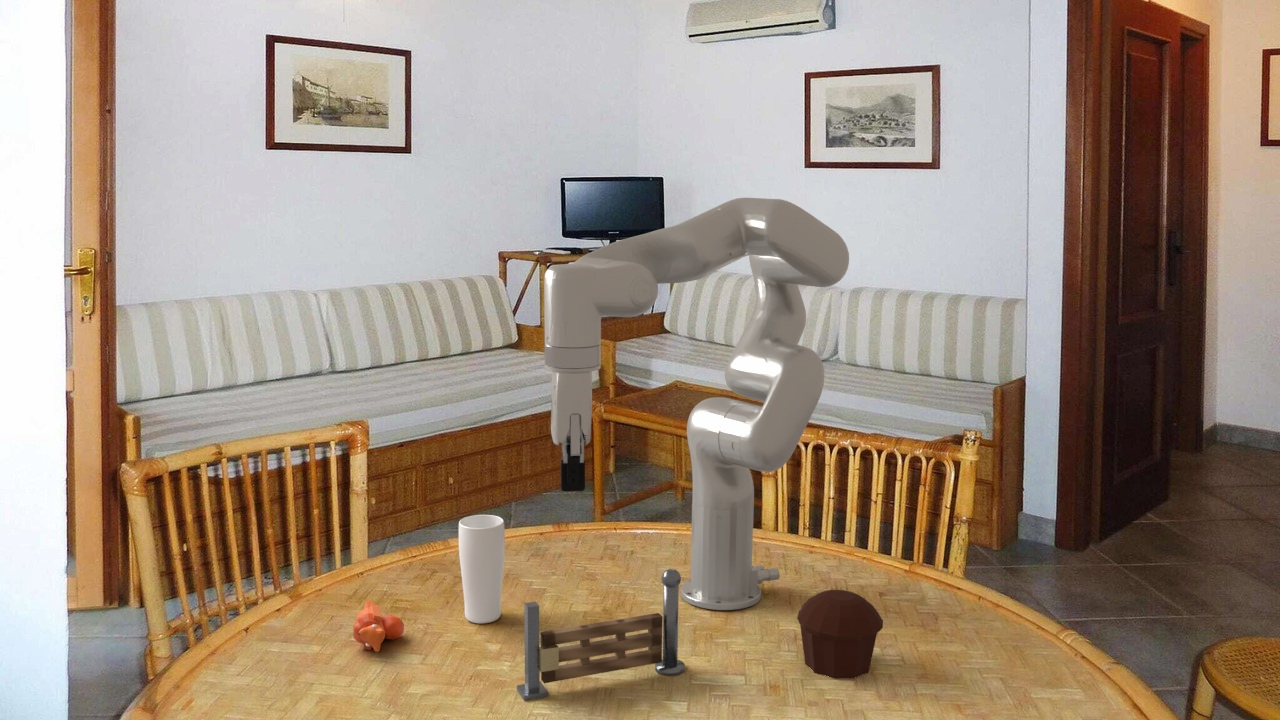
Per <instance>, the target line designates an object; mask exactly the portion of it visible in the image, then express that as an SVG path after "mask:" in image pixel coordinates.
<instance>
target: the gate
mask: <svg viewBox="0 0 1280 720" xmlns="http://www.w3.org/2000/svg"><path fill="white" fill-rule="evenodd" d="M645 630H646V631H648V632H643V633H636V634H635V633H634V634H630V635H626V634H629V633H632V632H639V631H645ZM609 636H615V637H612V638H607V639H602V640H594V641H591V639H598V638H604V637H609ZM574 642H579V643H577V644H571V645H563V646H558V645H562V644H568V643H574ZM551 645H557V646H558V647H559V663H562V662H563V663H564V662H569V661H575V660H579V661H578V662H572V663H566V664H559V669H557V670H551V671H545V672H540V680H541V682H543V684H549V683H555V682H560V681H564V680H565V681H566V680H571V679H577V678H581V677H587V676H588V677H589V676H593V675H598V674H599V675H600V674H604V673H610V672H615V671H621V670H627V669H631V668H637V667H643V666H647V665H655V663H661V662H662V659H663V614H662V615H661V614H660V613H659V612H656V613H651V614H643V615H638V616H632V617H625V618H619V619H618V618H617V619H612V620H606V621H600V622H595V623H594V622H593V623H589V624H587V623H586V624H581V625H576V626H569V627H563V628H558V629H551V630H545V631H541V632H540V647H545V646H551ZM644 648H647V649H646V650H641V651H635V652H629V653H626V652H627V651H633V650H639V649H644ZM610 654H614V655H612V656H606V657H600V658H595V659H591V658H592V657H598V656H603V655H610Z"/></svg>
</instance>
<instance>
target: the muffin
mask: <svg viewBox="0 0 1280 720" xmlns="http://www.w3.org/2000/svg"><path fill="white" fill-rule="evenodd" d="M796 618H797V620H798V623H799V626H800V633H801V641H802V643H801V644H802V649H803V656H804V657H803V658H804V664H806V665H807V666H806V665H805V666H806V667H808V668H809V667H810V668H811V669H812V670H813V671H812V670H811V669H810V668H809V669H810V670H811V671H812V672H813V673H814V674H816V673H817V675H820V674H822V676H824V675H826V676H825V677H827V676H829V677H828V678H830V677H831V679H833V678H835V679H853V678H854V679H856V678H858V676H859V677H861V676H863V675H862V674H864V675H866V674H865V673H867V674H869V673H868V672H869V671H870V667H871V663H872V659H873V655H874V649H875V645H876V639H877V636H878V635H877V634H878V633H879V632H880V631H881V630H882V629H883V628H884V620H883V619H882V617H881V615H880V613H879V612H878V611H877V609H876V608H875V606H874V605H873V604H871V603H870V602H869V601H868V600H867V599H866V598H864V597H862V596H861V595H859V594H857V593H855V592H852V591H848V590H844V589H828V590H823V591H822V592H819V593H816V594H815V595H813V596H811V597H810V598H808V599H806V601H805V602H804V603H803V605H802V606H801V608H800V609H799V610H798V614H797V617H796ZM860 675H861V676H860ZM855 677H856V678H855Z"/></svg>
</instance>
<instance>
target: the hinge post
mask: <svg viewBox="0 0 1280 720" xmlns="http://www.w3.org/2000/svg"><path fill="white" fill-rule="evenodd" d="M681 582H682V577H681V573H680V572H679V570H676V569H675V568H668V569H666V570H664V571H663V572H662V575H661V583H662V585H663V599H662V600H663V601H662V602H663V605H662V606H663V609H662V611H663V612H662V613H663V614H662V662H661V663H655V664H654V670H655V672H656V673H658V674H659V675H662V676H667V677H668V676H670V677H672V676H673V677H675V676H678V675H681V674H684V672H685V670H686V666H685V665H686V664H685V663H684V662H683V661H682V660H680V659H678V651H679V649H678V648H679V647H678V646H679V645H678V644H679V642H678V641H679V599H680V598H679V591H680V590H679V587H680V584H681Z"/></svg>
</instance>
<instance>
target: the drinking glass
mask: <svg viewBox="0 0 1280 720" xmlns="http://www.w3.org/2000/svg"><path fill="white" fill-rule="evenodd" d="M505 530H506V529H505V521H504V519H503V518H502V517H500V516H498V515H492V514H474V515H470V516H465V517H463V518H461V519H460V520H459V521H458V534H457V535H458V537H457V538H458V541H457V542H458V543H457V544H458V554H459V565H460V574H461V582H462V592H463V602H464V603H463V604H464V617H465V619H466V620H467V621H468V622H470V623H473V624H488V623H493V622H495V621H497V620H499V618H500V617H501V612H502V593H503V592H502V590H503V580H504V579H503V575H504V564H505V552H506V551H505V549H506V535H505V534H506V533H505Z"/></svg>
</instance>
